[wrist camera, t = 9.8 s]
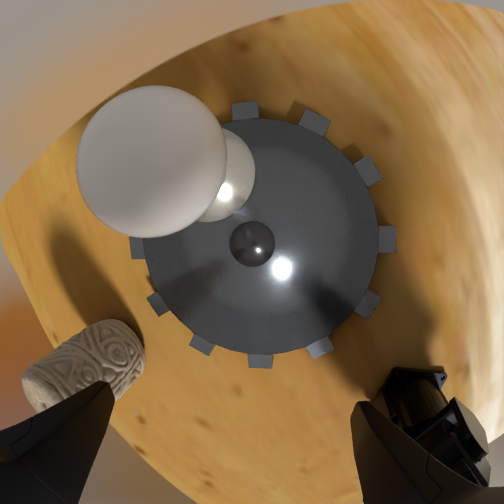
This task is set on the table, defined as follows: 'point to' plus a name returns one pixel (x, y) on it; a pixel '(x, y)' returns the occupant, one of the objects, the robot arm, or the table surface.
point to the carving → (86, 364)
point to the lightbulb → (151, 161)
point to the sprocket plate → (273, 244)
